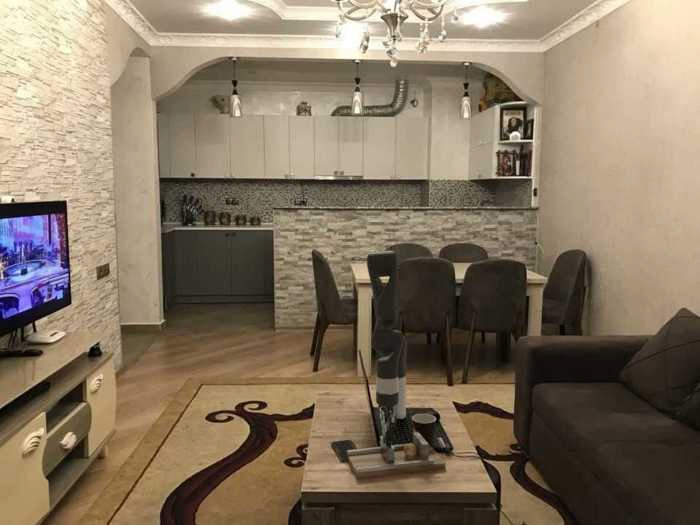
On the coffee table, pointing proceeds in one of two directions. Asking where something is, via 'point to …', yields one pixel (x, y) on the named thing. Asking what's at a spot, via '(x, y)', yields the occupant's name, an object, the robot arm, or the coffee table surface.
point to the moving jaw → (387, 448)
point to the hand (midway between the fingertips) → (387, 438)
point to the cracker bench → (375, 465)
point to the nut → (410, 450)
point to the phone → (343, 449)
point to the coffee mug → (424, 426)
